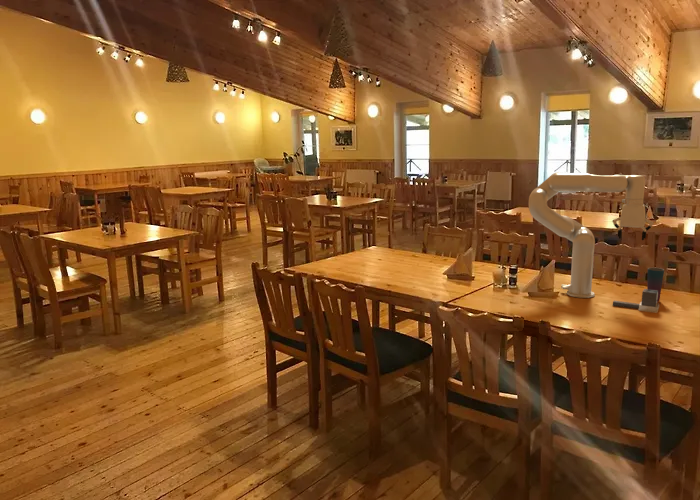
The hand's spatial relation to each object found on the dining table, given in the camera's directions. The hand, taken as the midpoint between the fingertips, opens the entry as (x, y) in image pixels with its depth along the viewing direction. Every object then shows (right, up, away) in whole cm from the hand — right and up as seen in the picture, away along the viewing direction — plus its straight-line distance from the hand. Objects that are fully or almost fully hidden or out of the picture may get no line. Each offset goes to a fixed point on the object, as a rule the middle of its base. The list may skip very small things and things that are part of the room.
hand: (631, 239), depth 273 cm
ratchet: (-4, -31, -11) cm, 33 cm away
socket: (+1, -29, -14) cm, 32 cm away
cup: (+10, -29, 0) cm, 31 cm away
